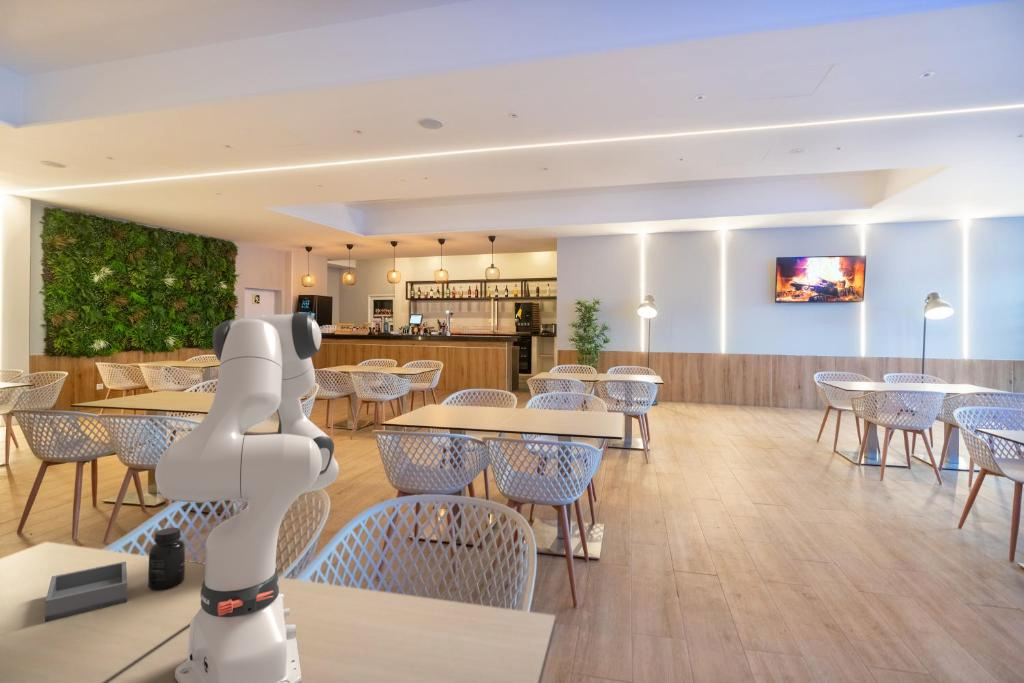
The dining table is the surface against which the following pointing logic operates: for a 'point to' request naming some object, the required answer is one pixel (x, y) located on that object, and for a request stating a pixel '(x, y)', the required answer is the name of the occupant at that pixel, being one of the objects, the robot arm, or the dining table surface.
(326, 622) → the dining table surface
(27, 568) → the dining table surface
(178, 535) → the supplement bottle
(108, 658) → the dining table surface
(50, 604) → the tray
